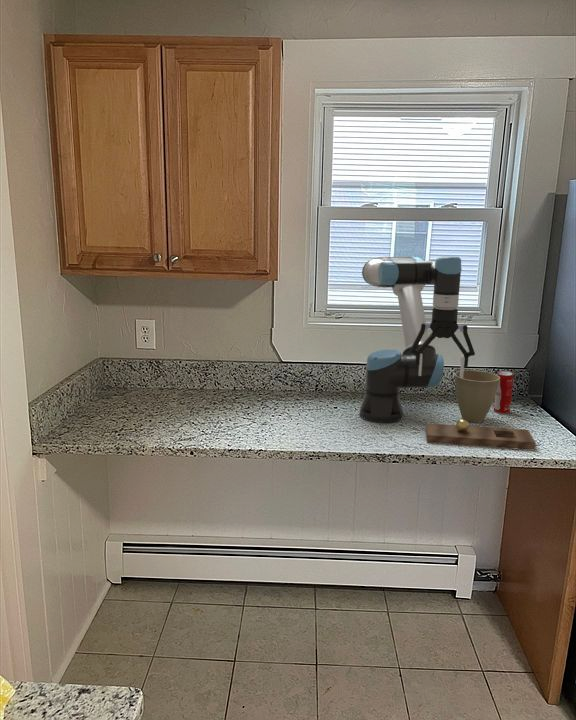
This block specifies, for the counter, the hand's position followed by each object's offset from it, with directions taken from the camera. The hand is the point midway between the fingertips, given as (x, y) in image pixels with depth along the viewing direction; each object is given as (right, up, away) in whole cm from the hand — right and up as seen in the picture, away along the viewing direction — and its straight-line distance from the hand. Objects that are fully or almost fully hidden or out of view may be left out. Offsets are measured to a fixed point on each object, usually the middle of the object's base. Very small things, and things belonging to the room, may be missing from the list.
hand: (440, 375), depth 182 cm
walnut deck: (+13, -20, +2) cm, 24 cm away
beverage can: (+30, -14, +29) cm, 44 cm away
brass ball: (+8, -16, +2) cm, 18 cm away
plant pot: (+17, -16, +21) cm, 32 cm away
